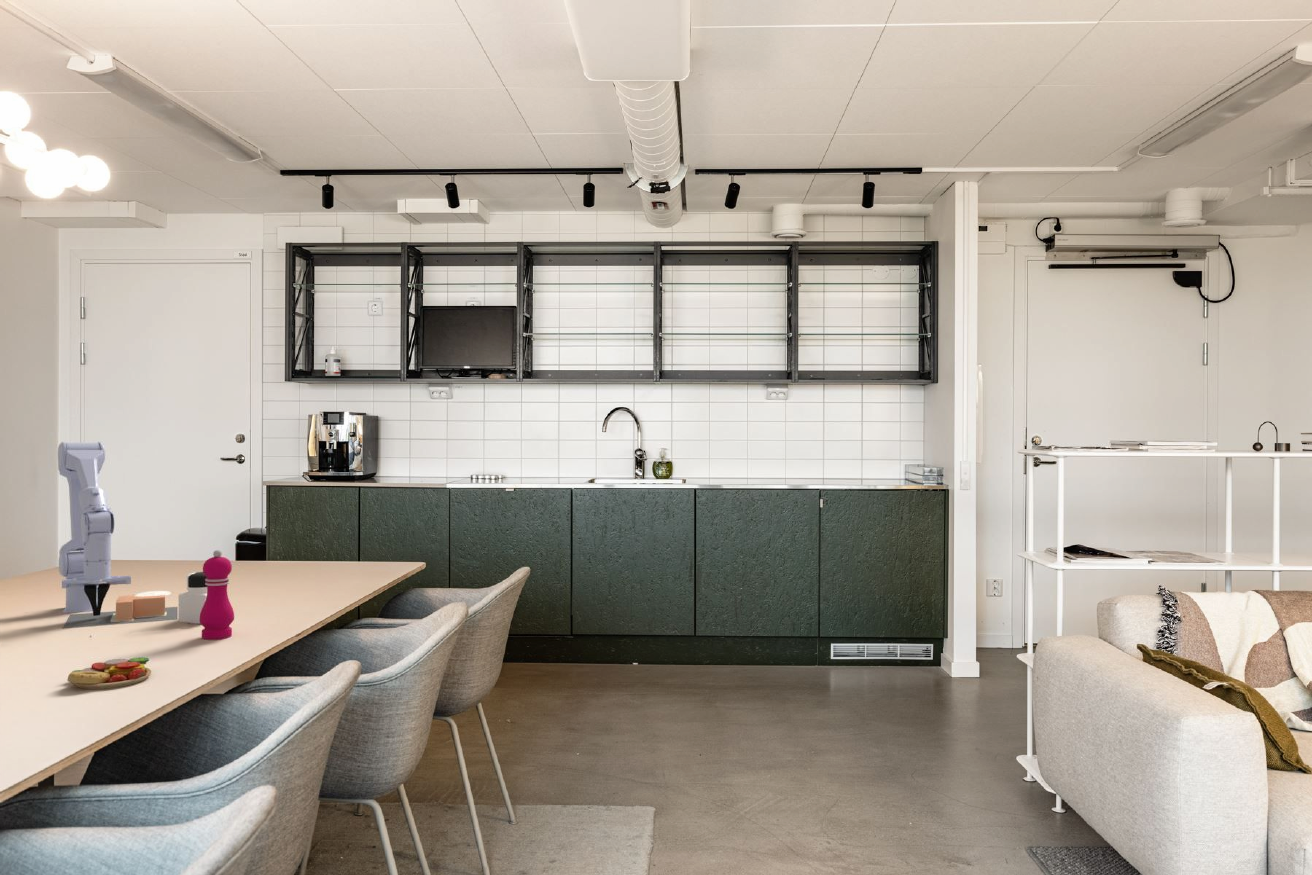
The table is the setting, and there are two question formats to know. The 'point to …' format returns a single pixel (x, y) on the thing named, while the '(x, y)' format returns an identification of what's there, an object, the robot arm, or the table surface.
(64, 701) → the table surface
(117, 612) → the t block
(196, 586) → the medicine bottle
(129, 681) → the toy food set
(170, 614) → the mat
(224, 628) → the pepper mill
